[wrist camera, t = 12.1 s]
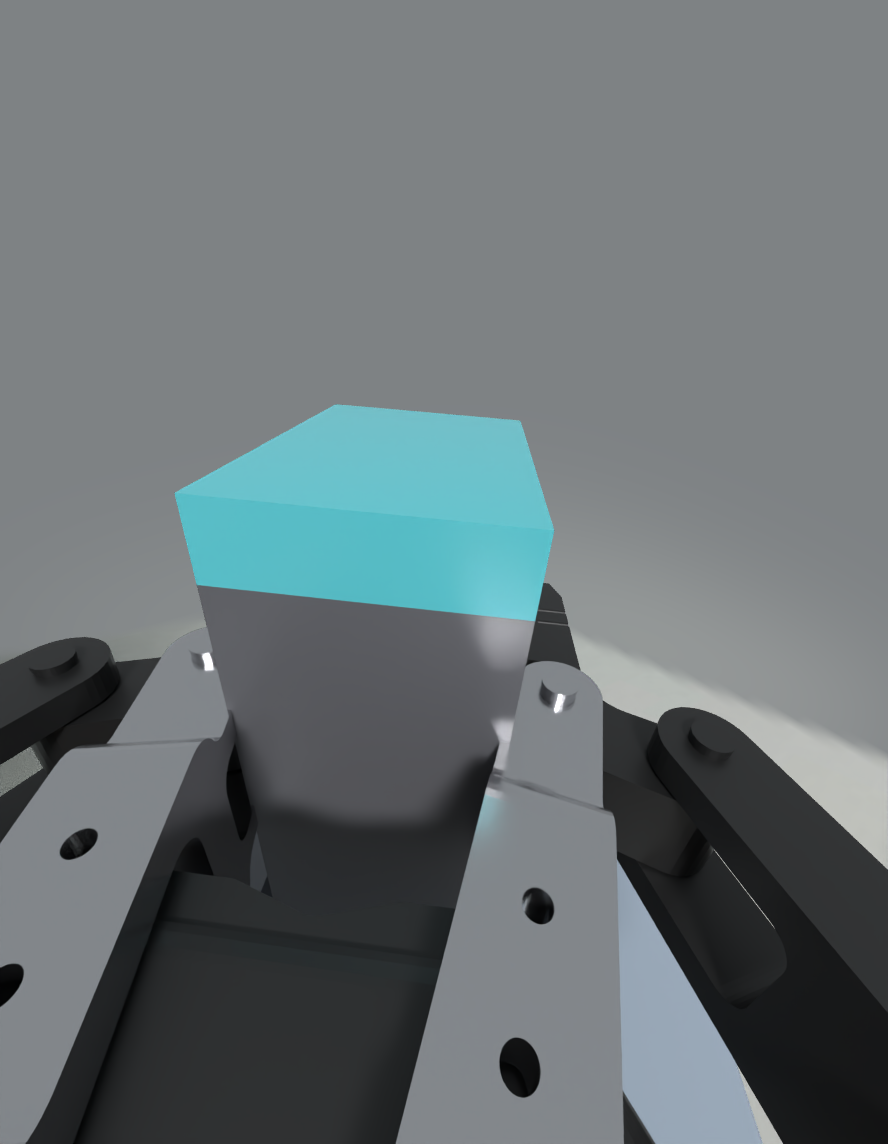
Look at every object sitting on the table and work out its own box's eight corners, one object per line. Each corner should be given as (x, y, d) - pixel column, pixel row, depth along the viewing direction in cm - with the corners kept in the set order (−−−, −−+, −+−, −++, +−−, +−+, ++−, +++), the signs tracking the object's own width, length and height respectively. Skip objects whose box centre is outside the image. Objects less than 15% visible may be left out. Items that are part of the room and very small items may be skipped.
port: (-105, 1226, 8) (-238, 1194, 6) (228, 716, 18) (212, 650, 17) (797, 1383, 7) (925, 1396, 6) (617, 762, 18) (643, 700, 16)
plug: (292, 981, 10) (174, 493, 4) (354, 774, 14) (335, 404, 8) (454, 1004, 9) (553, 530, 4) (465, 788, 14) (520, 420, 8)
